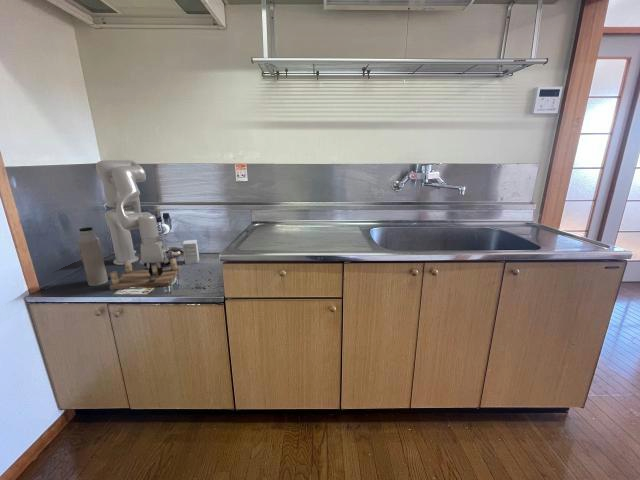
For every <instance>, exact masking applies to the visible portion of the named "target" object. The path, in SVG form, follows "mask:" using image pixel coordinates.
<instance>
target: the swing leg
mask: <svg viewBox="0 0 640 480" xmlns="http://www.w3.org/2000/svg"><path fill="white" fill-rule="evenodd" d="M151 267H152V273H153V277H151V278H149V282H154V281H155V280H156V278H157V277H159V274H158V264H154V263H153V264H152V265H151Z"/></svg>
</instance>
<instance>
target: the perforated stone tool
mask: <svg viewBox="0 0 640 480" xmlns="http://www.w3.org/2000/svg"><path fill="white" fill-rule="evenodd" d="M165 253H166V257H167V259H168V260H169V261H168V262H167V263H166V264H164V265H163V266H166V265H168V264H170V259H174V255H173V251H172V250H171V249H167V250H165ZM163 262H164V260H163ZM153 264H157V262H156V263H153ZM163 266H162V267H163Z"/></svg>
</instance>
